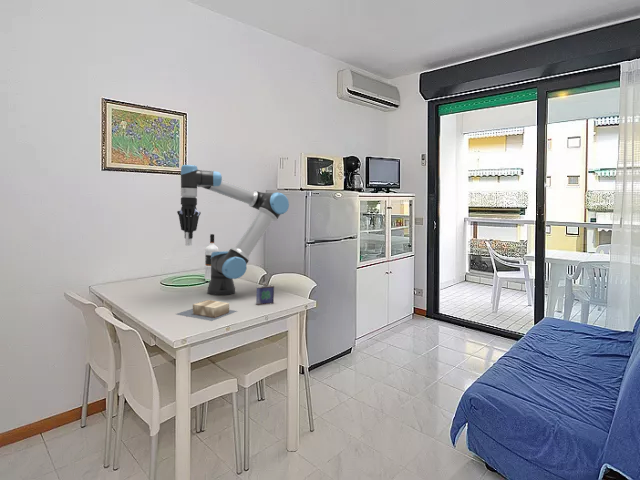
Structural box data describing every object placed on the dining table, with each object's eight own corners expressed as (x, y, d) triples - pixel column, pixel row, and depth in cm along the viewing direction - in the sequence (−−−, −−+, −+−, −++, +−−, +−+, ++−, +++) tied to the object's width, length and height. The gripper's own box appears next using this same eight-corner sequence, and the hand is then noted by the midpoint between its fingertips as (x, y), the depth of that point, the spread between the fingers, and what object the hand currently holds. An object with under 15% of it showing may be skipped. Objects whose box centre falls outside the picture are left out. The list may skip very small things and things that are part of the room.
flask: (257, 305, 195) (257, 283, 194) (255, 303, 197) (255, 282, 196) (274, 303, 199) (274, 282, 198) (272, 302, 202) (272, 281, 201)
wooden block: (192, 304, 173) (214, 308, 168) (208, 299, 182) (229, 303, 177) (192, 314, 174) (214, 317, 169) (207, 308, 183) (229, 312, 178)
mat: (175, 315, 172) (175, 314, 172) (203, 306, 189) (203, 305, 189) (211, 322, 164) (211, 320, 164) (237, 312, 181) (237, 311, 181)
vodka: (215, 283, 245) (216, 235, 243) (201, 282, 246) (202, 234, 244) (221, 280, 254) (222, 234, 252) (207, 279, 256) (208, 233, 253)
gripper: (173, 196, 191) (172, 244, 193) (193, 197, 186) (193, 246, 188) (184, 197, 198) (183, 243, 200) (204, 197, 193) (204, 245, 195)
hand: (188, 245), depth 194 cm, fingers closed
